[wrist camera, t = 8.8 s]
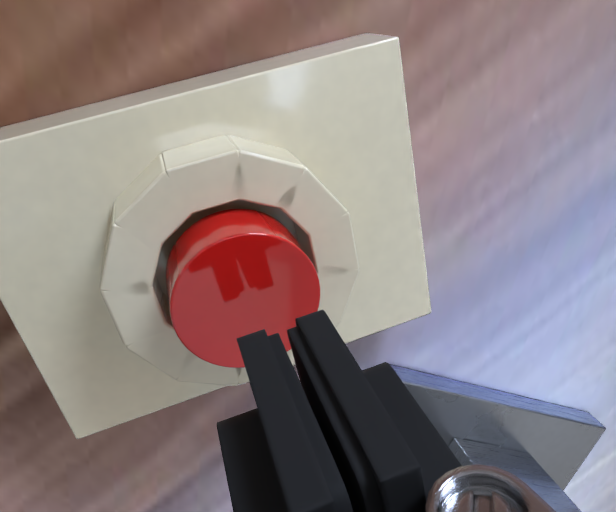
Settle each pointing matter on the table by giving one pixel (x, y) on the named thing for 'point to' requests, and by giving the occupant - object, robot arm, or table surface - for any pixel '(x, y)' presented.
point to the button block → (196, 205)
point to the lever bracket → (508, 432)
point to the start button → (237, 283)
